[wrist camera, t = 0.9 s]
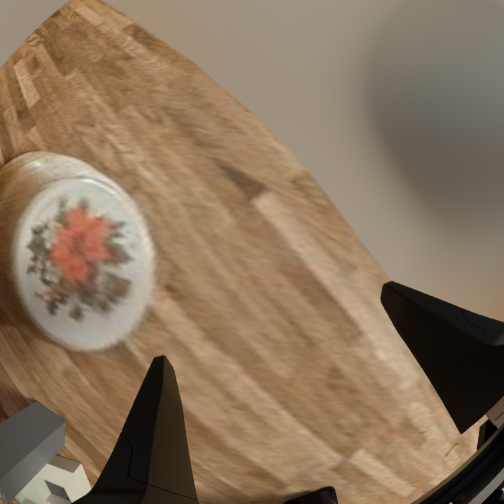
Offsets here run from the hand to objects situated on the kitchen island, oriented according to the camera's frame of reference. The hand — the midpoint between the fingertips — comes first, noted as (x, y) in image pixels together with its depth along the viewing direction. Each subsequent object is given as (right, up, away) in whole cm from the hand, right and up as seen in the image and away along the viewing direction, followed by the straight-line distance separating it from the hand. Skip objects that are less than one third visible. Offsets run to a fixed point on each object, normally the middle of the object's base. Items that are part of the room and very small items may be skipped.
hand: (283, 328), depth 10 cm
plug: (-25, -17, +10) cm, 32 cm away
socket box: (-29, -29, +8) cm, 42 cm away
